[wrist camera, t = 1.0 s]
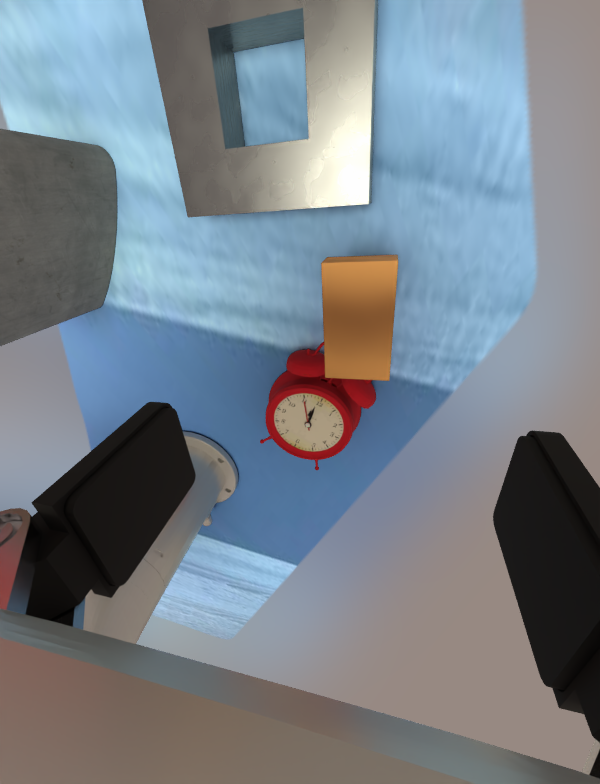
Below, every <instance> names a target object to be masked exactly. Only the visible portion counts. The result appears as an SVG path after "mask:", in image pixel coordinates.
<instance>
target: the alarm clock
mask: <svg viewBox="0 0 600 784" xmlns="http://www.w3.org/2000/svg"><path fill="white" fill-rule="evenodd" d="M323 345H324V342H323V343H321V344H320V346H319V347H318V348H317V350H316V351H314V350H310V349H309V348H308V349H307V350H299V351H296V352H294V353H292V354H291V355H290V356H289V357H288V359H287V365H286V367H287V371H286V372H284V373H283V374H282V375H280V376H279V377H278V379H277V380H276V381H275V383H274V384H273V386H272V388H271V391H270V394H269V403H268V406H267V409H266V426H267V429H268V432H269V434H270V435H271V436H269V437H268V438H266V439H264V440H263V439H262V440H260V443H264V441H266V440H268V439H271V438H272V439H273V440H274V441H275V442H276V444H277V445H279V446H280V447H281V448H282V449H283V450H285V451H286V452H288V453H290V454H292V455H294V456H297V457H299V458H303V459H310V460H315V462H316V467H315V469H316V470H318V469H319V467H318V460H320V459H326V458H329V457H332V456H334V455H336V454H338V453H339V452H340V451H342V450H343V449H344V448H345V446H346V445H347V444H348V442H349V441H350V439H351V436H352V433H353V431H354V430H355V429H356V427H357V425H358V423H359V420H360V416H361V407H363V408H367V409H368V408H369V407H371V406H372V405H373V404H374V402H375V400H376V393H375V389H374V387H373V385H372V384H371V381H372V380H363V379H342V378H325V355H324V354H322V353H320V352H318V351H319V350H320V348H321V347H322V346H323Z"/></svg>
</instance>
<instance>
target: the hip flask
mask: <svg viewBox="0 0 600 784" xmlns="http://www.w3.org/2000/svg"><path fill="white" fill-rule="evenodd" d="M116 231H117V186H116V171H115V166H114V163H113V160H112V158H111V157H110V155H109V154H108V152H107V151H106V150H105V149H103V148H102V147H100V146H98V145H92V144H86V143H81V142H75V141H69V140H63V139H57V138H51V137H45V136H40V135H34V134H28V133H22V132H16V131H10V130H4V129H0V346H2V345H5V344H7V343H10V342H12V341H15V340H18V339H20V338H23V337H25V336H28V335H30V334H33V333H36V332H38V331H40V330H43V329H46V328H49V327H51V326H54V325H56V324H59V323H61V322H64V321H67V320H69V319H72V318H74V317H77V316H79V315H82V314H85V313H87V312H90V311H92V310H95V309H98V308H100V307H101V306H102V305H103V303H104V300H105V297H106V294H107V290H108V287H109V282H110V278H111V273H112V268H113V261H114V253H115V243H116Z"/></svg>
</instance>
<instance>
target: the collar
mask: <svg viewBox="0 0 600 784" xmlns="http://www.w3.org/2000/svg"><path fill="white" fill-rule="evenodd" d="M142 1H143V6H144V11H145V16H146V21H147V25H148V30H149V35H150V40H151V44H152V49H153V54H154V59H155V63H156V68H157V73H158V78H159V82H160V87H161V92H162V97H163V101H164V106H165V111H166V116H167V121H168V125H169V130H170V135H171V140H172V144H173V149H174V154H175V159H176V163H177V168H178V173H179V178H180V182H181V187H182V192H183V197H184V201H185V206H186V211H187V216H188V217H198V216H212V215H225V214H239V213H253V212H266V211H280V210H293V209H307V208H320V207H334V206H347V205H361V204H370V203H371V195H372V166H373V137H374V108H375V78H376V49H377V20H378V0H142ZM303 38H304V39H305V62H306V85H307V108H308V131H309V139H304V140H296V141H288V142H279V143H271V144H263V145H255V146H247V147H245V143H244V135H243V126H242V118H241V110H240V102H239V94H238V85H237V77H236V69H235V61H234V53H233V52H236V51H242V50H247V49H252V48H257V47H262V46H267V45H272V44H277V43H282V42H287V41H293V40H298V39H303Z"/></svg>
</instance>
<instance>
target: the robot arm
mask: <svg viewBox="0 0 600 784" xmlns="http://www.w3.org/2000/svg"><path fill="white" fill-rule="evenodd" d="M237 483H238V473H237V469H236V466H235V464H234V462H233V461H232V459H231V458H230V456H229V455H228V454H227V453H226V452H225V451H224V449H222V448H221V447H220V446H219V445H218V444H216V443H215V442H213V441H211V440H210V439H208V438H206V437H204V436H201V435H198V434H195V433H191V432H184V431H182V428H181V425H180V421H179V418H178V415H177V412H176V410H175V409H173V408H172V406H171V405H170V404H168V403H160V402H149V403H147V404H146V405H144V406H143V407H142V408H141V409H140V410H139V411H137V412H136V413H135V414H134V415H133V416H132V417H130V418H129V419H128V420H127V421H126V422H125V423H124V424H122V425H121V426H120V427H119V428H118V429H117V430H115V431H114V432H113V433H112V434H111V435H110V436H108V437H107V438H106V439H105V440H104V441H103V442H101V443H100V444H99V445H98V446H97V447H96V448H94V449H93V450H92V451H91V452H90V453H89V454H88V455H87V456H85V457H84V458H83V459H82V460H81V461H79V462H78V463H77V464H76V465H75V466H74V467H72V468H71V469H70V470H69V471H68V472H67V473H65V474H64V475H63V476H62V477H61V478H60V479H58V480H57V481H56V482H55V483H54V484H53V485H51V486H50V487H49V488H48V489H47V490H46V491H45V492H43V494H41V495H40V496H39V497H38V498H36V499H35V500H34V501H33V502H32V504H33V505H34V507H35V508H36V510H37V511H38V512H37V513H36V514H35V515H34V516H33V517H32V516H31V515H30V514H29V513H28V511H27V510H24V509H21V508H16V509H8V510H4V511H1V512H0V784H600V488H599V486H598V485H597V483H596V482H595V481H594V479H593V478H592V476H591V475H590V473H589V472H588V470H587V469H586V468H585V466H584V465H583V463H582V462H581V460H580V459H579V458H578V456H577V455H576V453H575V452H574V451H573V449H572V448H571V446H570V445H569V443H568V442H567V441H566V439H565V438H564V436H563V435H562V434H560V433H555V432H543V431H530V432H529V433H528V434H527V436H520V437H519V438H518V440H517V443H516V446H515V449H514V452H513V455H512V458H511V461H510V465H509V467H508V471H507V473H506V477H505V480H504V483H503V486H502V490H501V492H500V495H499V498H498V501H497V504H496V507H495V510H494V515H493V521H494V527H495V530H496V534H497V537H498V540H499V543H500V547H501V550H502V553H503V557H504V560H505V563H506V566H507V569H508V573H509V576H510V579H511V583H512V586H513V589H514V592H515V596H516V599H517V602H518V606H519V609H520V612H521V615H522V619H523V622H524V625H525V628H526V632H527V635H528V638H529V641H530V644H531V648H532V651H533V655H534V658H535V661H536V664H537V667H538V671H539V674H540V677H541V679H542V680H543V683H544V684H545V685H546V686H548V687H551V688H553V691H554V694H555V697H556V700H557V703H558V706H559V708H561V709H566V710H570V711H574V712H578V713H582V714H584V715H585V717H586V720H587V723H588V726H589V728H590V731H591V734H592V736H593V737H594V738H595V739H596V740H595V743H594V745H593V747H592V749H591V752H590V754H589V757H588V759H587V761H586V763H585V766H584V768H583V770H582V772H579V771H576V770H573V769H569V768H566V767H563V766H559V765H556V764H553V763H550V762H546V761H543V760H540V759H536V758H533V757H530V756H526V755H523V754H520V753H516V752H513V751H510V750H507V749H503V748H500V747H497V746H494V745H490V744H486V743H483V742H480V741H477V740H474V739H470V738H467V737H464V736H461V735H457V734H454V733H450V732H446V731H443V730H440V729H436V728H432V727H429V726H426V725H422V724H419V723H415V722H412V721H408V720H404V719H401V718H397V717H394V716H390V715H387V714H383V713H380V712H376V711H373V710H369V709H365V708H362V707H358V706H355V705H351V704H348V703H345V702H341V701H338V700H334V699H330V698H327V697H324V696H320V695H317V694H313V693H309V692H306V691H302V690H299V689H295V688H292V687H288V686H285V685H281V684H277V683H274V682H270V681H267V680H263V679H259V678H256V677H252V676H248V675H245V674H242V673H238V672H234V671H231V670H227V669H224V668H220V667H216V666H213V665H209V664H206V663H202V662H198V661H195V660H191V659H187V658H184V657H180V656H176V655H173V654H170V653H166V652H162V651H158V650H155V649H152V648H148V647H144V646H141V645H137V644H136V643H137V641H138V639H139V637H140V635H141V633H142V631H143V629H144V627H145V626H146V624H147V622H148V620H149V618H150V616H151V615H152V613H153V611H154V609H155V607H156V606H157V604H158V602H159V600H160V599H161V597H162V595H163V593H164V591H165V589H166V588H167V586H168V584H169V582H170V581H171V579H172V577H173V575H174V574H175V572H176V570H177V568H178V567H179V565H180V563H181V561H182V560H183V558H184V556H185V554H186V553H187V551H188V549H189V547H190V546H191V544H192V542H193V540H194V538H195V537H196V535H197V533H198V531H199V530H200V528H201V526H202V524H203V525H204V526H209V525H210V524H211V523H212V518H211V515H210V513H211V511H212V509H213V507H214V506H215V504H216V503H219V502H222V501H225V500H226V499H228V498H229V497H230V496H231V495H232V494H233V492H234V491H235V489H236V487H237Z"/></svg>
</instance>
